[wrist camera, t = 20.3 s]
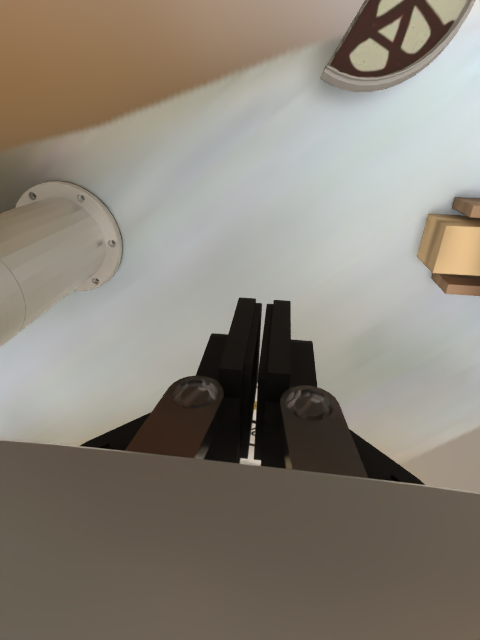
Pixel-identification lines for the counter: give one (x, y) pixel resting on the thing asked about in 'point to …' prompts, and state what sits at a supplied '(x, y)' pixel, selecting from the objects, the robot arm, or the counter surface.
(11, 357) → the counter surface
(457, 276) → the cradle
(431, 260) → the oak bar
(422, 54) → the food container
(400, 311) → the counter surface
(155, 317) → the counter surface
